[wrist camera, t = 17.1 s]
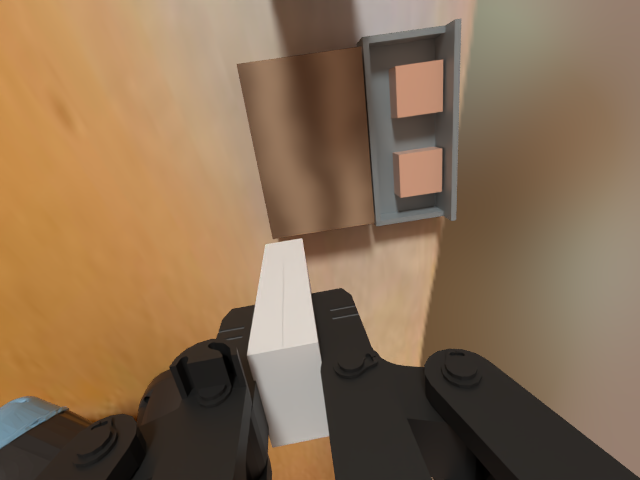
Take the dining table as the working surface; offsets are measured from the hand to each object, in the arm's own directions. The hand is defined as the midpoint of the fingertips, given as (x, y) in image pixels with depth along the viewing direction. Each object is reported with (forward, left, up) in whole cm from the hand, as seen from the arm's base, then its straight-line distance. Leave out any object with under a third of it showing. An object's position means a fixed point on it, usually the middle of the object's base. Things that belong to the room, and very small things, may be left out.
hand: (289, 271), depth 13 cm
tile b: (+15, +7, -24) cm, 29 cm away
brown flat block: (+3, +2, -27) cm, 27 cm away
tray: (+14, +2, -27) cm, 30 cm away
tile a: (+15, -2, -24) cm, 28 cm away
